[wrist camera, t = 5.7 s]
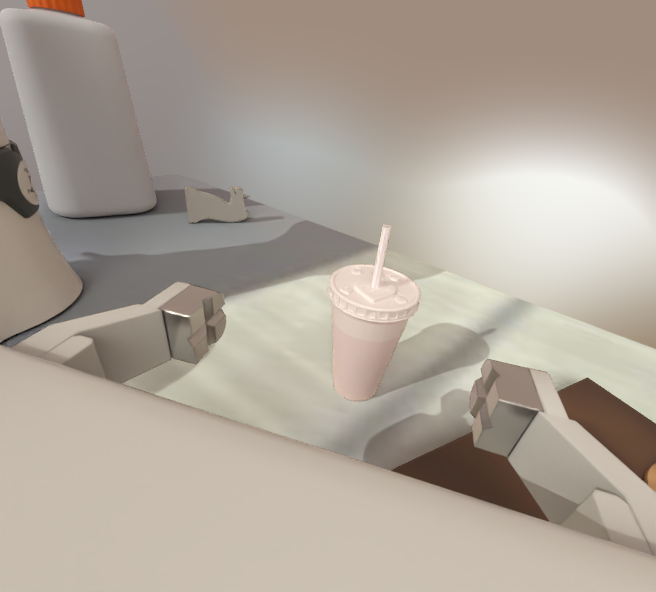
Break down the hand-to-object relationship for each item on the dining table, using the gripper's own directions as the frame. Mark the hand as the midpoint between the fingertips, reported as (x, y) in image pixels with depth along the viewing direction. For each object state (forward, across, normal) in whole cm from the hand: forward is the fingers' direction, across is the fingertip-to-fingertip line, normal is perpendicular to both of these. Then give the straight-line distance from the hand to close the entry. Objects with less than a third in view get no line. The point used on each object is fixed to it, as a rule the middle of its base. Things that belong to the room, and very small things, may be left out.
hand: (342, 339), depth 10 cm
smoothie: (+12, 0, -14) cm, 19 cm away
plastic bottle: (+37, -50, -14) cm, 64 cm away
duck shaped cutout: (+40, -29, -14) cm, 51 cm away
